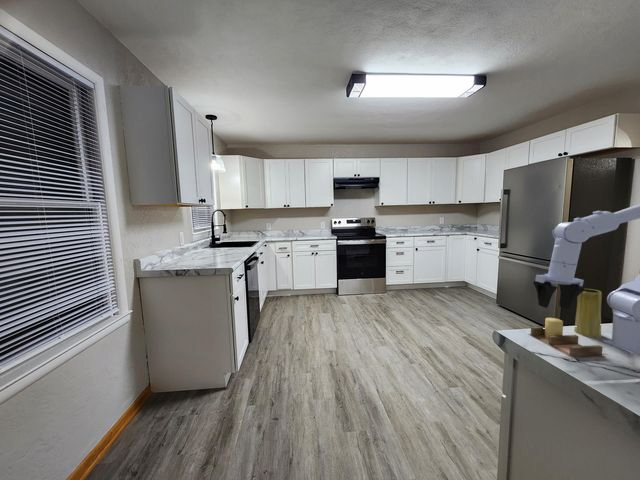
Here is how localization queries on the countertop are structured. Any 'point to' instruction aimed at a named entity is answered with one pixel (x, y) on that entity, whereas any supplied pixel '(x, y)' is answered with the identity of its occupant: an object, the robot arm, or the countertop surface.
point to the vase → (589, 313)
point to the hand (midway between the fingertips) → (553, 307)
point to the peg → (553, 327)
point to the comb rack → (567, 344)
